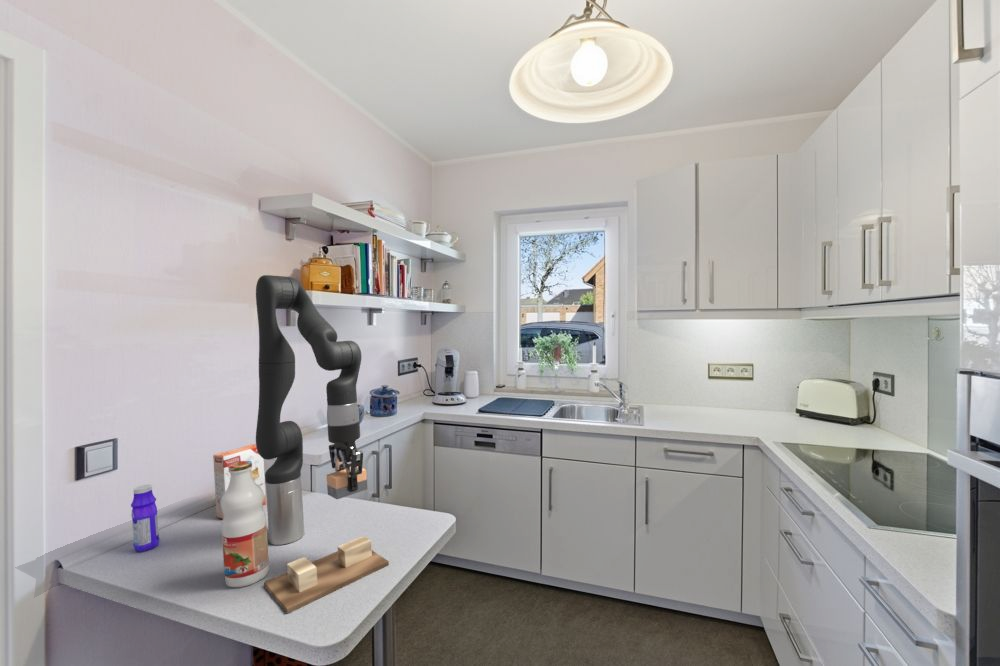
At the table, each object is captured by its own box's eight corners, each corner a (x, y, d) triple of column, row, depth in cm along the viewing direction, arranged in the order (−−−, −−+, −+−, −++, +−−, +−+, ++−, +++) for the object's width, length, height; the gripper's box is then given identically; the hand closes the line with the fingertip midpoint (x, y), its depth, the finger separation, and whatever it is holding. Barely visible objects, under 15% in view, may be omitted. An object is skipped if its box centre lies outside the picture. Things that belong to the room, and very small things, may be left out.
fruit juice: (275, 574, 108) (268, 461, 107) (233, 593, 100) (225, 472, 100) (260, 562, 114) (253, 455, 113) (219, 579, 107) (211, 465, 106)
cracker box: (227, 521, 141) (222, 456, 140) (215, 518, 143) (211, 454, 143) (267, 503, 153) (263, 444, 153) (256, 501, 156) (252, 443, 155)
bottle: (132, 547, 126) (127, 487, 126) (156, 539, 130) (152, 481, 130) (136, 555, 121) (131, 493, 121) (161, 546, 125) (157, 486, 125)
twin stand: (264, 586, 103) (263, 565, 103) (359, 545, 120) (358, 527, 120) (287, 613, 92) (286, 590, 92) (388, 565, 109) (387, 545, 109)
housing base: (357, 484, 114) (357, 475, 114) (367, 489, 111) (366, 479, 111) (327, 494, 109) (327, 484, 109) (337, 499, 105) (336, 489, 105)
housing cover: (357, 475, 114) (356, 465, 114) (366, 479, 111) (366, 469, 111) (327, 484, 109) (326, 474, 109) (336, 489, 105) (335, 478, 105)
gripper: (371, 421, 107) (376, 490, 107) (344, 415, 117) (348, 478, 117) (342, 427, 102) (347, 500, 102) (316, 420, 112) (320, 486, 112)
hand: (347, 488), depth 110 cm, fingers closed on housing base, housing cover, 5 cm apart
